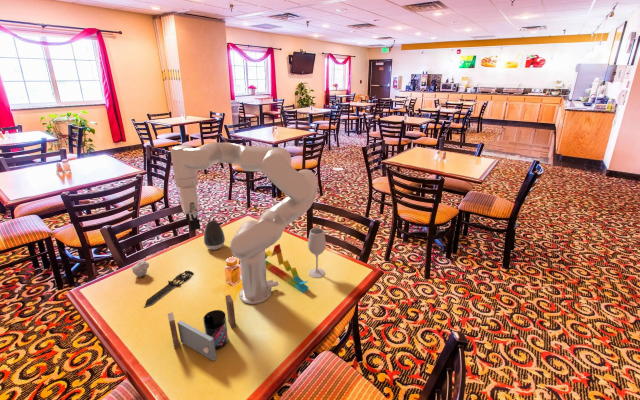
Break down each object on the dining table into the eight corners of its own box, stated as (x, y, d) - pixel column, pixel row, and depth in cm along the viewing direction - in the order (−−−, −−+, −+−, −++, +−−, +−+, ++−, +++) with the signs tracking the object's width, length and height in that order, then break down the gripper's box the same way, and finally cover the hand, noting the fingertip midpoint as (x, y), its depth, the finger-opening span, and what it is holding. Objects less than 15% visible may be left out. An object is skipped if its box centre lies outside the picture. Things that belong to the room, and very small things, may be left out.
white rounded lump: (150, 277, 140) (147, 264, 137) (132, 281, 137) (128, 267, 135) (151, 270, 145) (149, 257, 143) (134, 273, 143) (131, 259, 140)
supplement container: (203, 349, 103) (199, 324, 99) (211, 334, 109) (208, 309, 106) (224, 351, 102) (221, 325, 99) (231, 335, 109) (228, 310, 105)
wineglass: (305, 275, 142) (305, 233, 134) (312, 267, 148) (312, 226, 141) (321, 279, 139) (321, 236, 132) (327, 270, 146) (328, 228, 138)
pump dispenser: (222, 252, 160) (219, 224, 155) (202, 252, 160) (198, 224, 155) (228, 242, 170) (225, 216, 164) (208, 242, 170) (205, 216, 165)
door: (178, 344, 104) (174, 324, 102) (184, 339, 106) (180, 320, 103) (210, 363, 97) (207, 343, 95) (216, 358, 99) (213, 338, 96)
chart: (308, 290, 133) (308, 258, 127) (303, 293, 131) (302, 261, 125) (264, 262, 153) (263, 234, 147) (259, 264, 151) (257, 236, 145)
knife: (146, 310, 121) (146, 307, 121) (135, 305, 124) (134, 302, 123) (197, 275, 142) (196, 272, 142) (186, 271, 145) (186, 269, 144)
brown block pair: (232, 319, 116) (229, 294, 112) (235, 326, 113) (233, 300, 109) (172, 340, 106) (167, 313, 103) (174, 348, 103) (169, 321, 99)
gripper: (172, 176, 119) (179, 218, 125) (179, 189, 105) (186, 235, 111) (193, 173, 123) (199, 214, 129) (202, 185, 109) (208, 231, 115)
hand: (193, 224), depth 120 cm, fingers open, 9 cm apart
